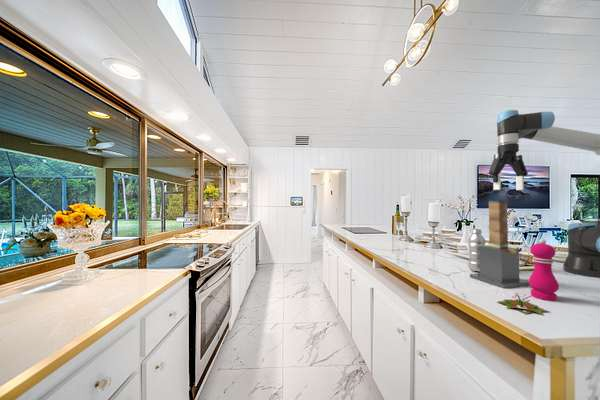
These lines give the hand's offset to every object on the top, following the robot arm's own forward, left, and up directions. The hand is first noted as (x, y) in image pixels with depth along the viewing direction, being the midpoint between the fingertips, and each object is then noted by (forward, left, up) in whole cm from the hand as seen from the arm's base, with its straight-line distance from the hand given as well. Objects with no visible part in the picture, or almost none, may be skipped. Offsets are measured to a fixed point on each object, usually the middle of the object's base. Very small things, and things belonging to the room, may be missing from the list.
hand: (508, 189), depth 111 cm
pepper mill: (+20, +25, -39) cm, 50 cm away
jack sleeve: (+17, +8, -39) cm, 43 cm away
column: (+17, +8, -30) cm, 35 cm away
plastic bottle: (+12, -6, -39) cm, 41 cm away
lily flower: (+36, +29, -39) cm, 61 cm away
